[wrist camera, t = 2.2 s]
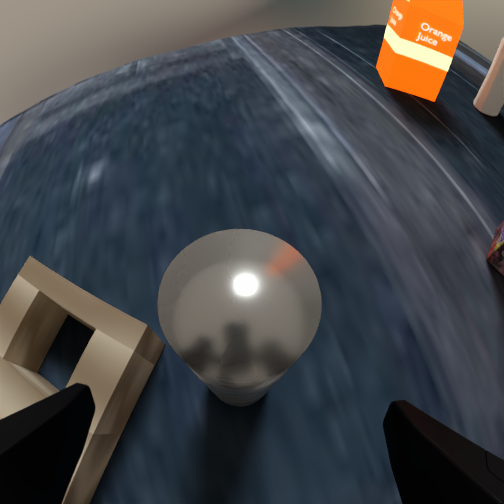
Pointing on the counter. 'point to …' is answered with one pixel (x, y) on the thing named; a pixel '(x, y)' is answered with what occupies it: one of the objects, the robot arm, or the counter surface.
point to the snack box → (497, 250)
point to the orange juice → (420, 45)
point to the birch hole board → (87, 370)
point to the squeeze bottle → (492, 86)
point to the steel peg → (239, 311)
